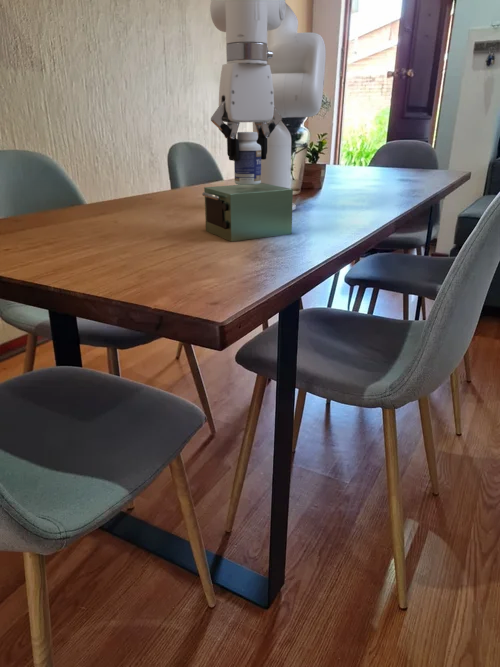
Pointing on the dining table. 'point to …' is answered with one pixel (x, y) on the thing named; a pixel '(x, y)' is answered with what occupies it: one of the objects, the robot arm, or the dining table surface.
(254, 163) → the pill bottle
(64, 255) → the dining table surface
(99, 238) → the dining table surface
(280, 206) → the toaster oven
